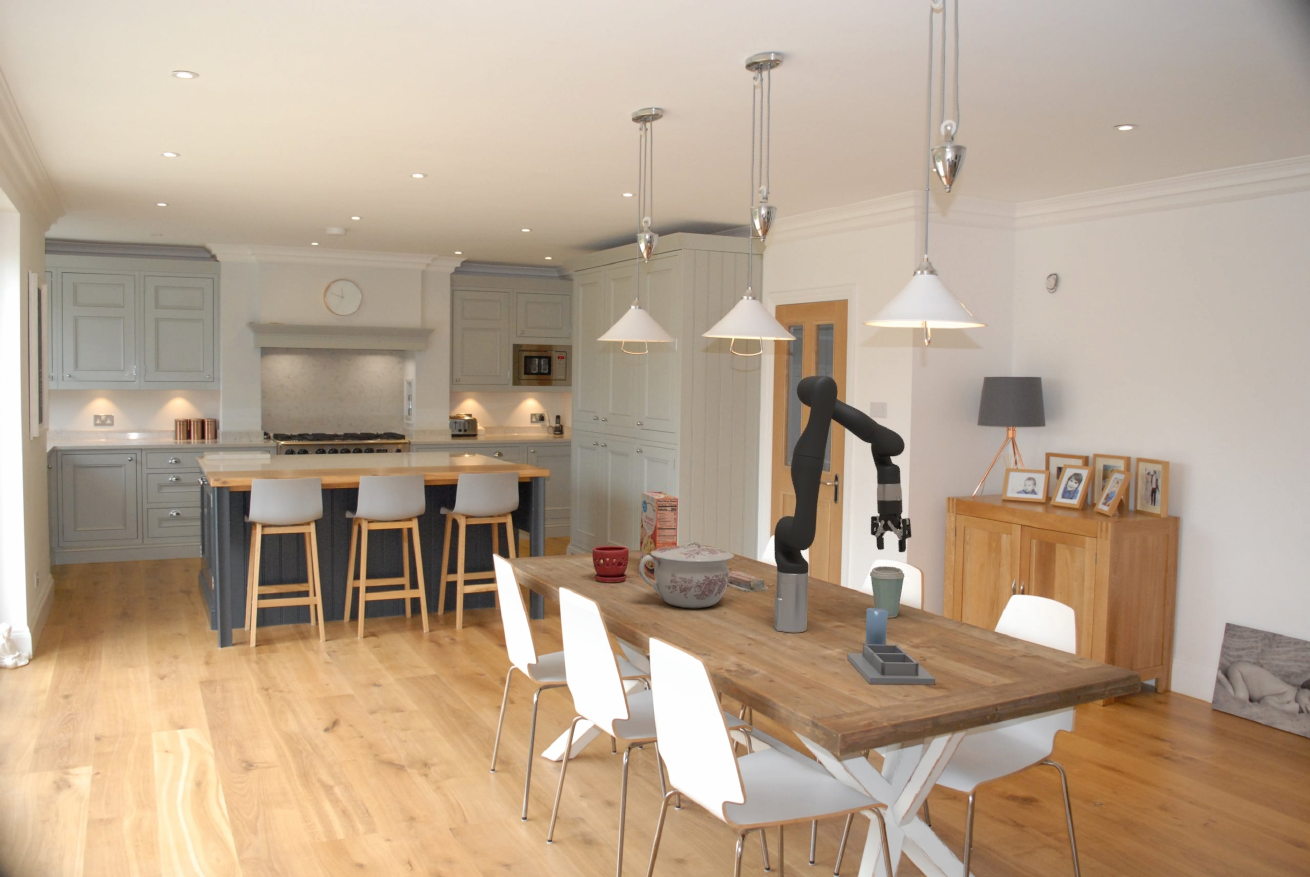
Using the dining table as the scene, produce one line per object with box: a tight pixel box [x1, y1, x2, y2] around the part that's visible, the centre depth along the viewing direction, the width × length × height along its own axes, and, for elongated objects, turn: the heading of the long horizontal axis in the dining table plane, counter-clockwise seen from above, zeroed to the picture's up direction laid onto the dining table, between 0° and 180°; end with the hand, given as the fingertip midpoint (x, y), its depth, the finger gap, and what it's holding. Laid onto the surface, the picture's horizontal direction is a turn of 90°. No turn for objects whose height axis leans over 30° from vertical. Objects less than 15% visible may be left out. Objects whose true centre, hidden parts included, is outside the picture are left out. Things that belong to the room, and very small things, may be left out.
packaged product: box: [728, 570, 769, 593], centre depth 347 cm, size 18×5×10 cm
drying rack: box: [846, 644, 936, 686], centre depth 244 cm, size 16×22×4 cm
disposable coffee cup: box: [869, 566, 905, 619], centre depth 306 cm, size 11×11×15 cm
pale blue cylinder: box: [864, 607, 888, 645], centre depth 260 cm, size 6×6×12 cm
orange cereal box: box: [639, 491, 679, 581], centre depth 366 cm, size 23×8×30 cm, turn 15°
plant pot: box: [592, 545, 629, 583], centre depth 351 cm, size 13×13×12 cm
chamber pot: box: [637, 540, 735, 610], centre depth 315 cm, size 28×28×21 cm
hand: (891, 550), depth 298 cm, fingers open, 8 cm apart
